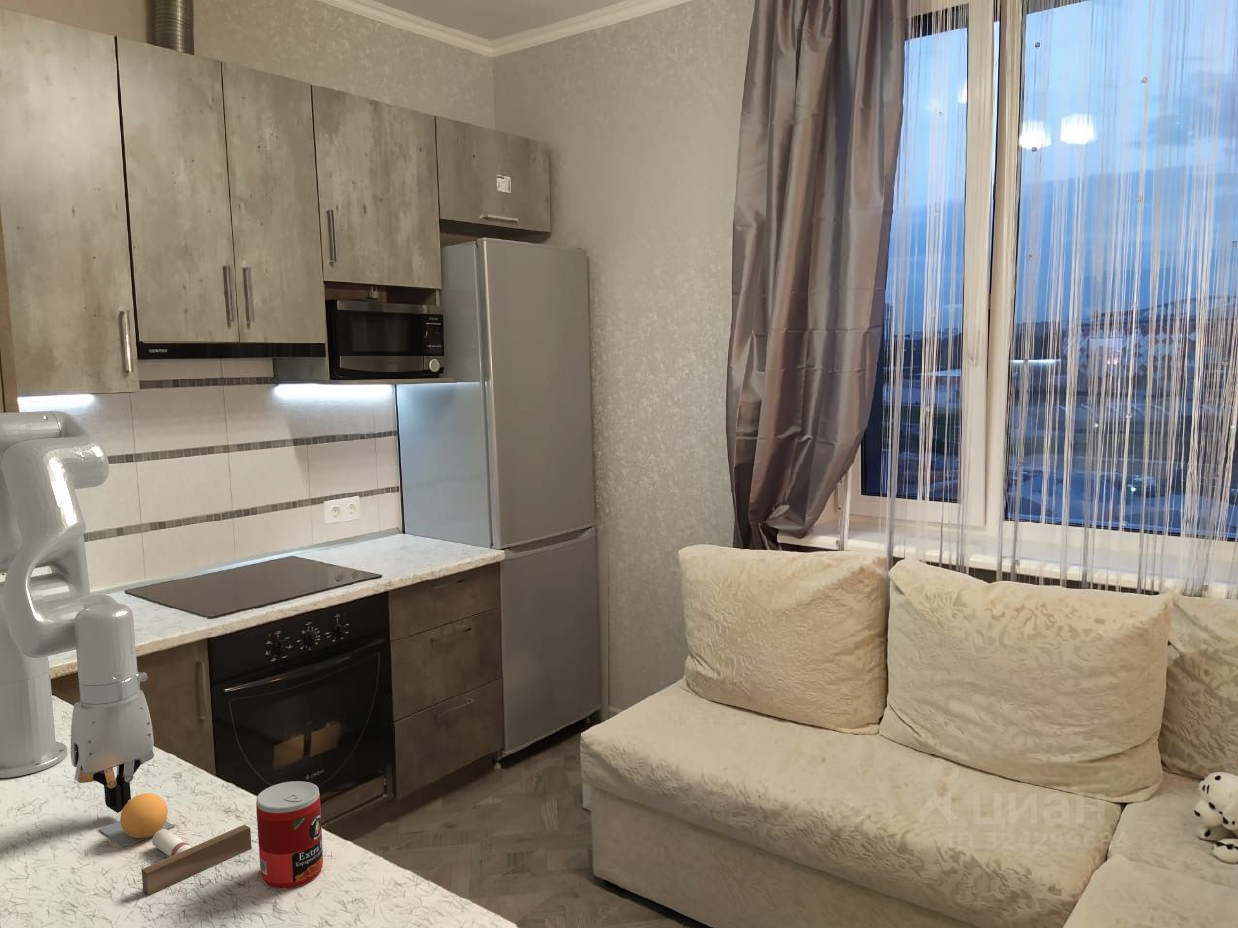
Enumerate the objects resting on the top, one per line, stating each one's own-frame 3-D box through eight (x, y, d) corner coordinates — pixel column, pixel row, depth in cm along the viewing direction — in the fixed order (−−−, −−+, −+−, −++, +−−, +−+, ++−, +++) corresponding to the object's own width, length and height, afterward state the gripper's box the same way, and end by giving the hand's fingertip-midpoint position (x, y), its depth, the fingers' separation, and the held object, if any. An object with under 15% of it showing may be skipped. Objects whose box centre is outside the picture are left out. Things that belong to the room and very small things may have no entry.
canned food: (304, 892, 114) (299, 810, 113) (247, 886, 116) (242, 805, 115) (334, 860, 122) (330, 782, 120) (281, 854, 123) (277, 778, 122)
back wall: (143, 891, 115) (141, 869, 115) (245, 844, 126) (244, 824, 126) (148, 895, 114) (147, 873, 114) (251, 848, 125) (250, 827, 125)
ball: (132, 821, 124) (131, 854, 126) (176, 802, 128) (174, 834, 130) (113, 795, 127) (112, 827, 129) (156, 778, 131) (154, 809, 134)
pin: (149, 834, 125) (177, 854, 119) (168, 824, 127) (196, 844, 121) (154, 850, 125) (181, 871, 120) (171, 840, 127) (200, 860, 122)
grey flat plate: (99, 830, 131) (98, 828, 131) (148, 811, 136) (148, 809, 136) (124, 847, 126) (124, 845, 126) (174, 826, 131) (174, 825, 131)
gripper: (149, 670, 140) (157, 782, 142) (42, 699, 129) (53, 821, 130) (172, 679, 136) (181, 795, 138) (64, 710, 124) (75, 836, 126)
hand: (118, 807), depth 134 cm, fingers closed
